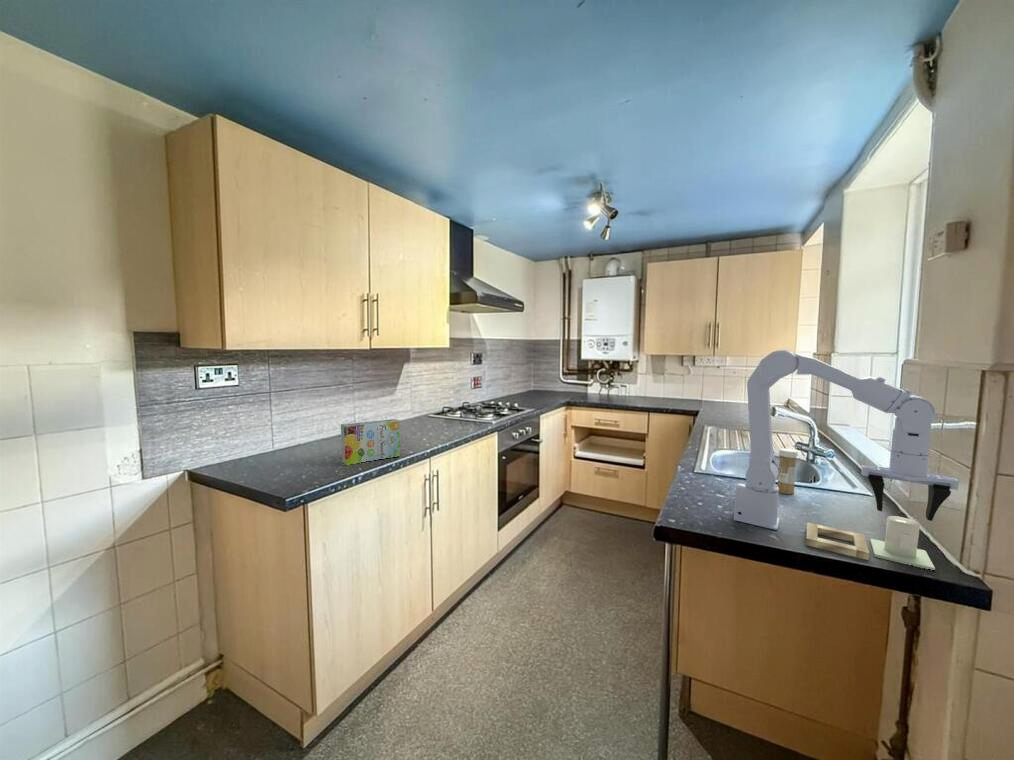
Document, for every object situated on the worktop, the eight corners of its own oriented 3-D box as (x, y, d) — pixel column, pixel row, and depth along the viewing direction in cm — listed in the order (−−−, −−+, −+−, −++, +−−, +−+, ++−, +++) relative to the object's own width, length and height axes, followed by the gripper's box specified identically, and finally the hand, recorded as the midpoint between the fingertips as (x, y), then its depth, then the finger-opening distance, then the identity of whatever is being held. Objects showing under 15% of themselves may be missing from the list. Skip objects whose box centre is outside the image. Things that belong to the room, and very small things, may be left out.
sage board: (874, 556, 86) (874, 554, 86) (870, 540, 94) (870, 538, 94) (934, 571, 81) (935, 568, 81) (925, 553, 88) (925, 550, 88)
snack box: (395, 454, 165) (395, 418, 164) (400, 457, 161) (400, 420, 159) (341, 462, 153) (340, 423, 152) (345, 466, 148) (344, 426, 147)
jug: (882, 544, 91) (885, 514, 90) (913, 551, 88) (917, 520, 87) (887, 556, 85) (890, 524, 85) (920, 564, 82) (924, 531, 82)
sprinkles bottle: (773, 489, 127) (775, 447, 126) (786, 489, 128) (789, 447, 127) (784, 495, 123) (787, 451, 122) (798, 494, 123) (801, 451, 122)
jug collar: (806, 545, 91) (806, 538, 91) (806, 528, 100) (807, 522, 100) (868, 560, 85) (869, 552, 85) (863, 541, 93) (864, 534, 93)
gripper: (865, 450, 87) (860, 511, 88) (965, 462, 78) (958, 530, 79) (862, 444, 92) (857, 501, 93) (955, 455, 84) (948, 518, 85)
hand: (903, 514), depth 87 cm, fingers open, 7 cm apart
